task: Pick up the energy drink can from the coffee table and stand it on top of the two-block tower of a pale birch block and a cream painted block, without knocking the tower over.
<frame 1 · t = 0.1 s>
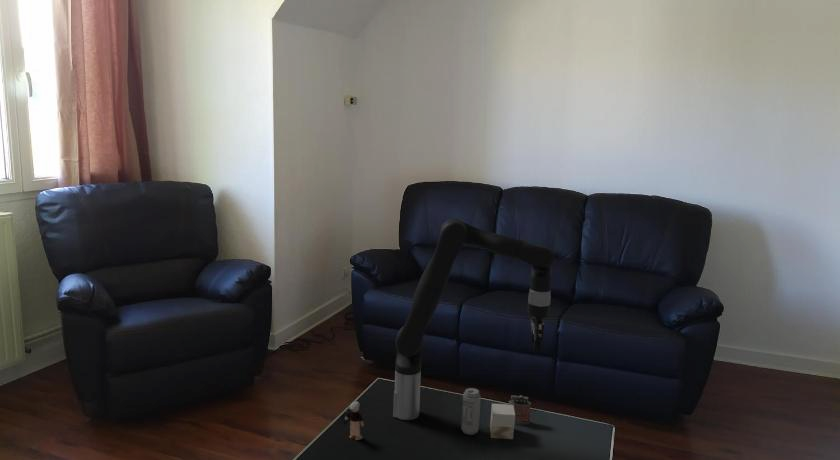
hand: (535, 346, 213), 29 cm above the table, tool pointing down, fingers open, 8 cm apart
lighter: (518, 422, 218), on the table
birch block: (501, 433, 210), on the table, touching cream block
energy drink can: (469, 431, 210), on the table
grandmother figurine: (354, 437, 204), on the table
cream block: (502, 421, 209), point 4 cm above the table, touching birch block
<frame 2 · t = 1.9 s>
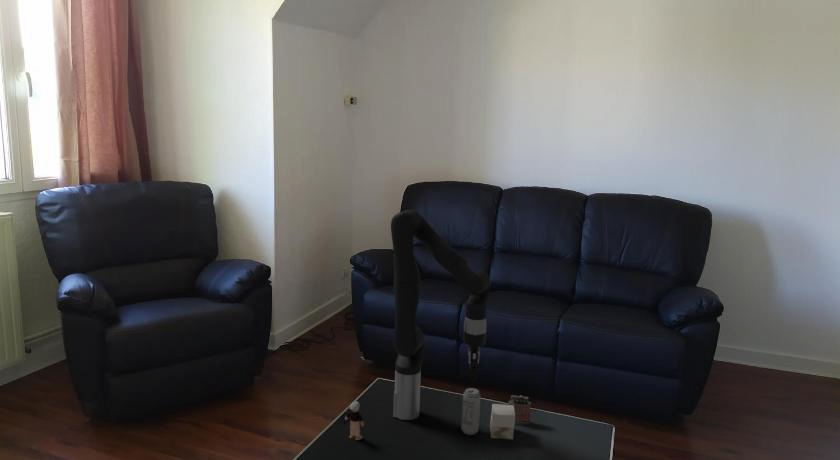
hand: (472, 374, 207), 21 cm above the table, tool pointing down, fingers open, 8 cm apart
birch block: (501, 433, 210), on the table
cream block: (502, 421, 209), point 4 cm above the table
everything else where it was.
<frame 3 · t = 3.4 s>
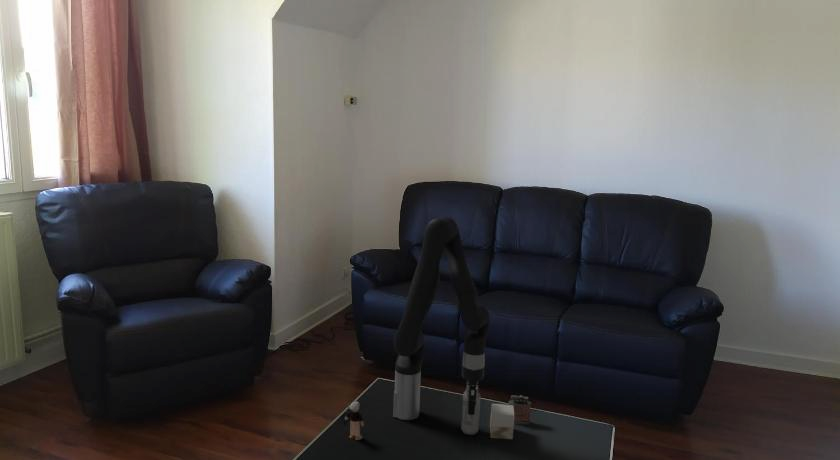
hand: (471, 409, 209), 8 cm above the table, tool pointing down, fingers closed on energy drink can, 6 cm apart
energy drink can: (469, 431, 210), on the table, touching gripper
everything else where it was.
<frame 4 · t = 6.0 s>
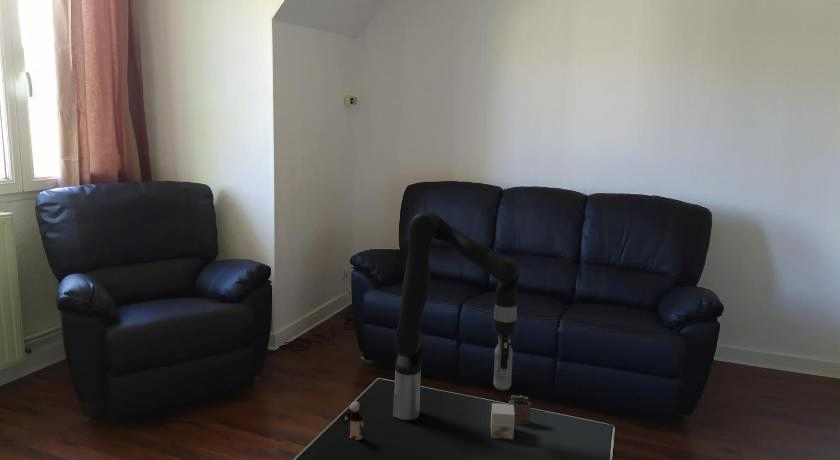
hand: (503, 364, 205), 25 cm above the table, tool pointing down, fingers closed on energy drink can, 6 cm apart
birch block: (501, 433, 210), on the table, touching cream block
energy drink can: (502, 387, 207), point 17 cm above the table, touching gripper
cream block: (502, 420, 210), point 4 cm above the table, touching birch block
everything else where it was.
when the fingers open (18 cm above the table, at t = 8.9 s): energy drink can drops 2 cm, resting on cream block.
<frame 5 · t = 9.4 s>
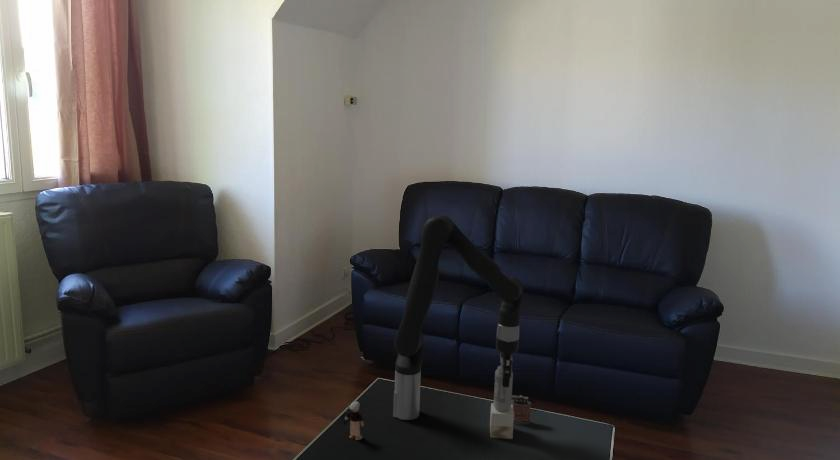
hand: (504, 381, 207), 19 cm above the table, tool pointing down, fingers open, 8 cm apart
energy drink can: (502, 409, 209), point 9 cm above the table, touching cream block
cream block: (501, 420, 210), point 4 cm above the table, touching birch block, energy drink can
everything else where it was.
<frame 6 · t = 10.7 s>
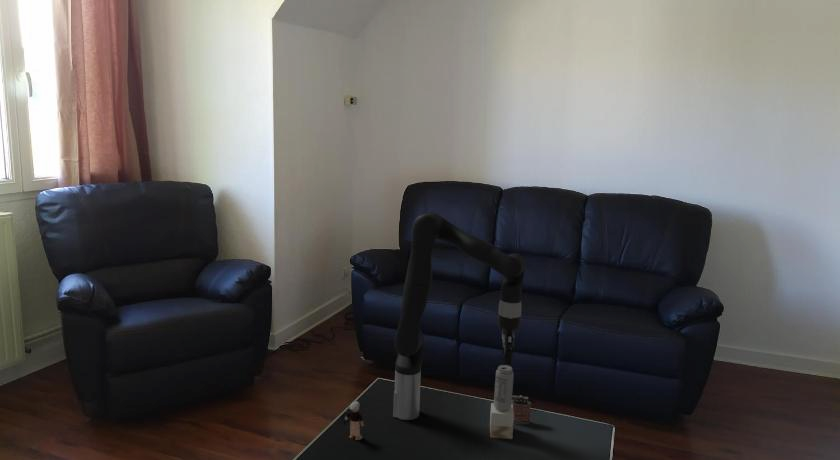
hand: (506, 358, 205), 27 cm above the table, tool pointing down, fingers open, 8 cm apart
nothing on the table moved.
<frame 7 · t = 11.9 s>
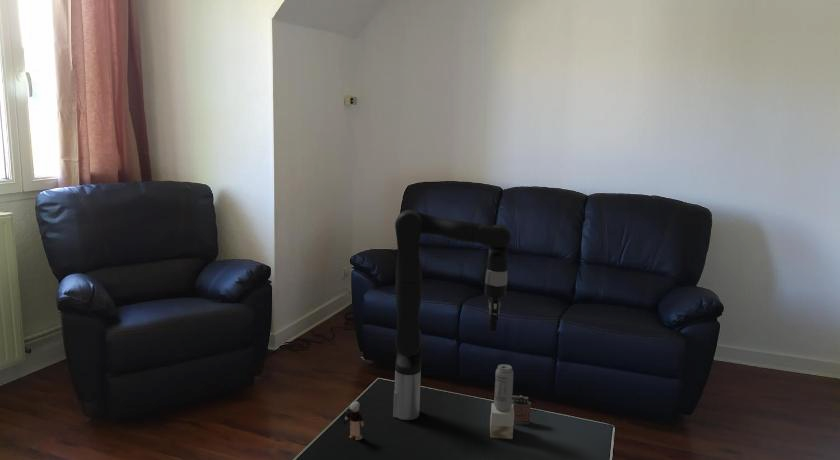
hand: (492, 326, 213), 35 cm above the table, tool pointing down, fingers open, 8 cm apart
nothing on the table moved.
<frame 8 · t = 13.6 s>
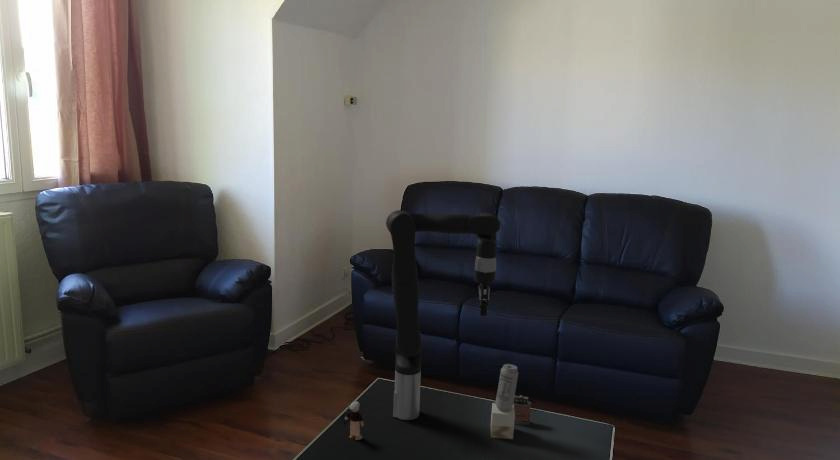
hand: (482, 311, 220), 38 cm above the table, tool pointing down, fingers open, 8 cm apart
at the end: energy drink can 0.2 cm off-centre on the birch block, point 9.2 cm above the birch block's base; energy drink can tilted 8°; birch block moved 0.2 cm from its start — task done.
